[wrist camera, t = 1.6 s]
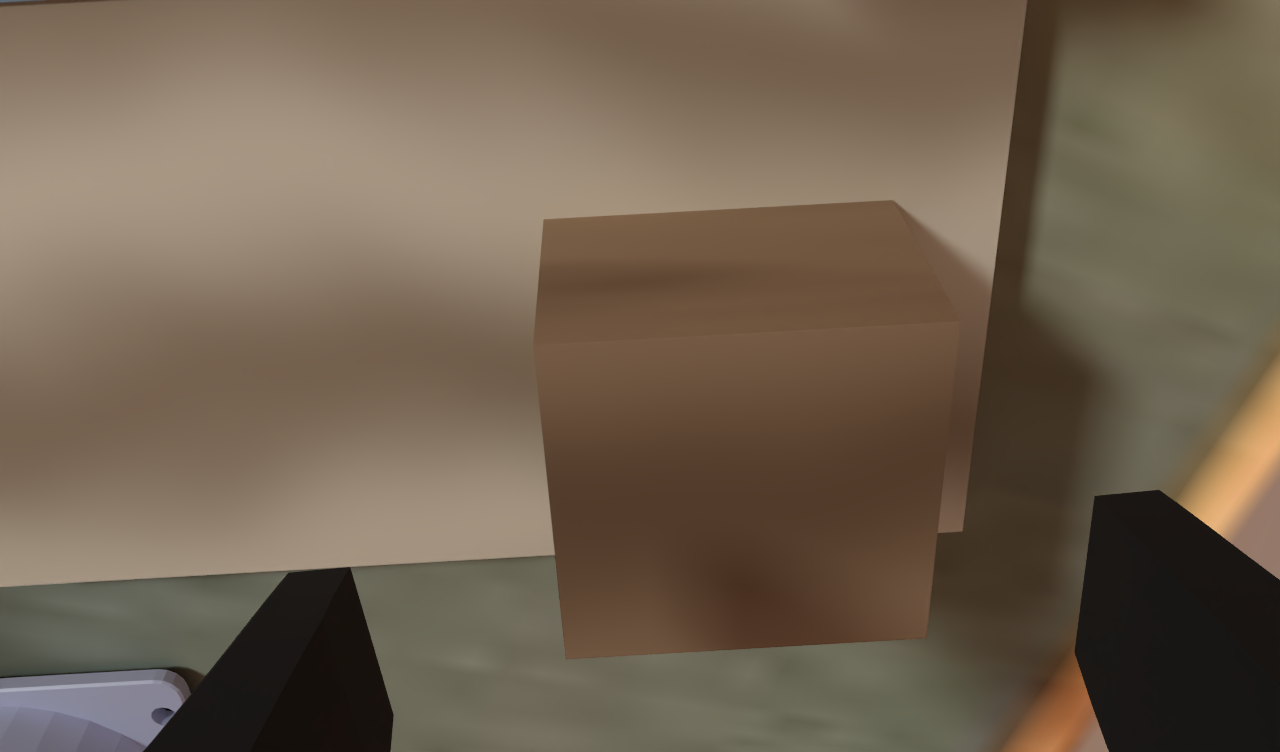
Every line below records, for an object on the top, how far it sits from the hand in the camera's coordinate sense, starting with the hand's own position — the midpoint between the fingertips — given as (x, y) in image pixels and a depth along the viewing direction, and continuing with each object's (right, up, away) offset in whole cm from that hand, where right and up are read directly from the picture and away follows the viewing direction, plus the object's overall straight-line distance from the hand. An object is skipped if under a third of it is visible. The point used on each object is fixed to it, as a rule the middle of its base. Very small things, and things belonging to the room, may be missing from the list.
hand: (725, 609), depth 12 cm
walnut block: (+1, +3, +8) cm, 9 cm away
